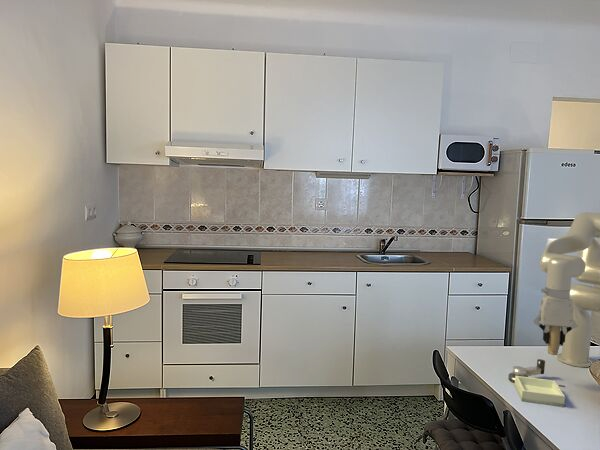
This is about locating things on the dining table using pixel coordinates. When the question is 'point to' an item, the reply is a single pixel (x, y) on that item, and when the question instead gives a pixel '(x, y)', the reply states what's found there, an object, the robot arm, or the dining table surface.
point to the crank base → (512, 378)
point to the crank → (530, 369)
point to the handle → (554, 340)
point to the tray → (539, 391)
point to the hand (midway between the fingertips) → (553, 342)
